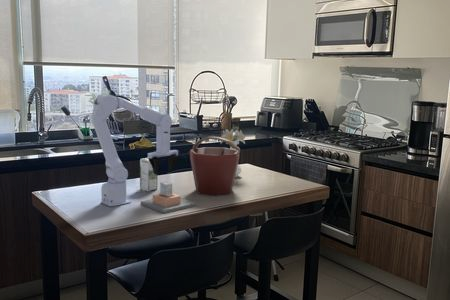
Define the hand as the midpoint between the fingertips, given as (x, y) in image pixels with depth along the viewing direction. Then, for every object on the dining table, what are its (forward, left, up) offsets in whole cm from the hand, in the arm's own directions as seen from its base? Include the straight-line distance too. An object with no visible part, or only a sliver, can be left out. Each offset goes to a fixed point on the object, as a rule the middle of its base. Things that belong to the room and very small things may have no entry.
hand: (163, 173), depth 193 cm
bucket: (+23, -7, -11) cm, 26 cm away
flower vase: (+52, +11, -11) cm, 54 cm away
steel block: (-7, -12, -9) cm, 17 cm away
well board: (-7, -12, -10) cm, 17 cm away
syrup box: (+2, +14, -11) cm, 18 cm away
